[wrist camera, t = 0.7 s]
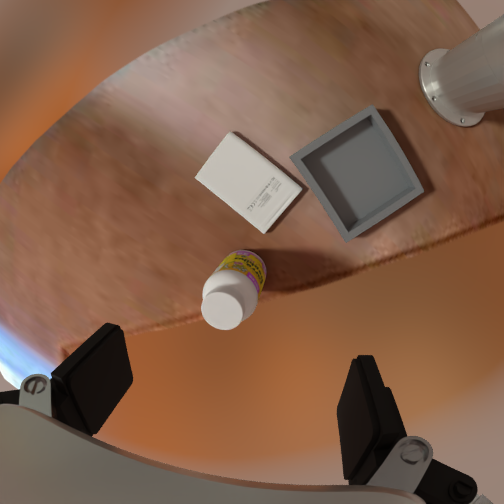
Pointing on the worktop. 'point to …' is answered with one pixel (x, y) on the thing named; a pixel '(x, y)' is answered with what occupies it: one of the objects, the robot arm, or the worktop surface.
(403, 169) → the tray
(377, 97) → the worktop surface
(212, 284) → the supplement bottle
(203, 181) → the external hard drive
